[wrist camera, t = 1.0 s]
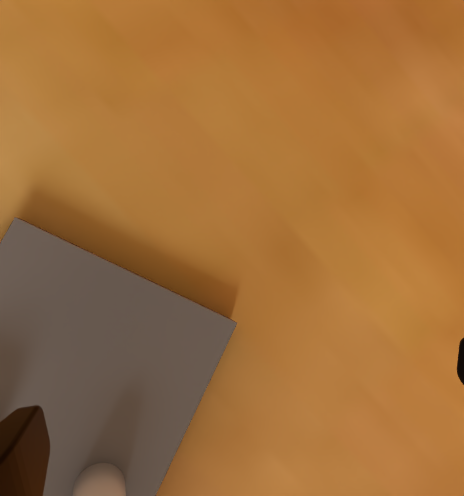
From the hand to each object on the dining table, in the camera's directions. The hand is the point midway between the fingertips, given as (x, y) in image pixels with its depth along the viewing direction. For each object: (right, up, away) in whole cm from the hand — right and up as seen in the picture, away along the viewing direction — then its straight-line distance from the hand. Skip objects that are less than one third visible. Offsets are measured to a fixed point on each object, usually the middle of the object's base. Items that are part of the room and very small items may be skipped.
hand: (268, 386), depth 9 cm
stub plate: (-10, -7, +12) cm, 17 cm away
